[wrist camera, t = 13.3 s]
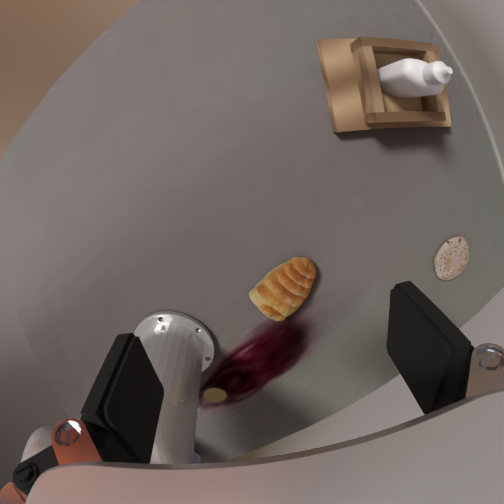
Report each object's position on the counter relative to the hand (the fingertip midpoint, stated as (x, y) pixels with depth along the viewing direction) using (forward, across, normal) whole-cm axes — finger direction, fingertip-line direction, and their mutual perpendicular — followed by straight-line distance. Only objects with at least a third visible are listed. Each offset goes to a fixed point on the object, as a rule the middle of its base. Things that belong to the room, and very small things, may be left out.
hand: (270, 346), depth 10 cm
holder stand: (+28, -21, -12) cm, 37 cm away
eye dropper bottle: (+27, -21, -12) cm, 36 cm away
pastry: (+29, -2, +13) cm, 32 cm away
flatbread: (+29, -31, +15) cm, 45 cm away
